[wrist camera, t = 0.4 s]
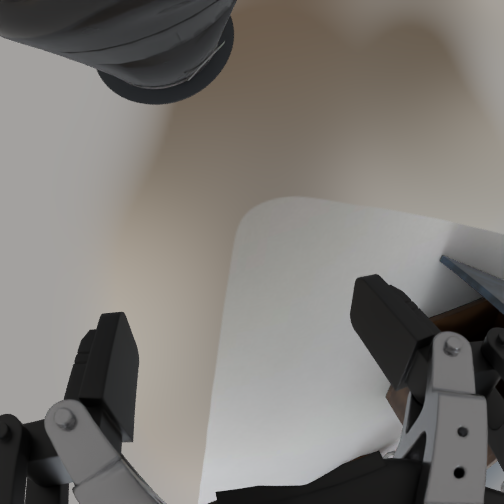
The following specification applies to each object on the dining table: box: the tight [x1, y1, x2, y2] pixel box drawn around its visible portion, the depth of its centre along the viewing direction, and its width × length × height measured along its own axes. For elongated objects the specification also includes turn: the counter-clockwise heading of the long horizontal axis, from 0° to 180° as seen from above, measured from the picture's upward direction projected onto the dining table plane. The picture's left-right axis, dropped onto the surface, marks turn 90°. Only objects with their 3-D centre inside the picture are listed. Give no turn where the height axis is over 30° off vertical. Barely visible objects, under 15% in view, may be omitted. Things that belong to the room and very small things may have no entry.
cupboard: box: [386, 298, 504, 469], centre depth 34 cm, size 18×26×24 cm
